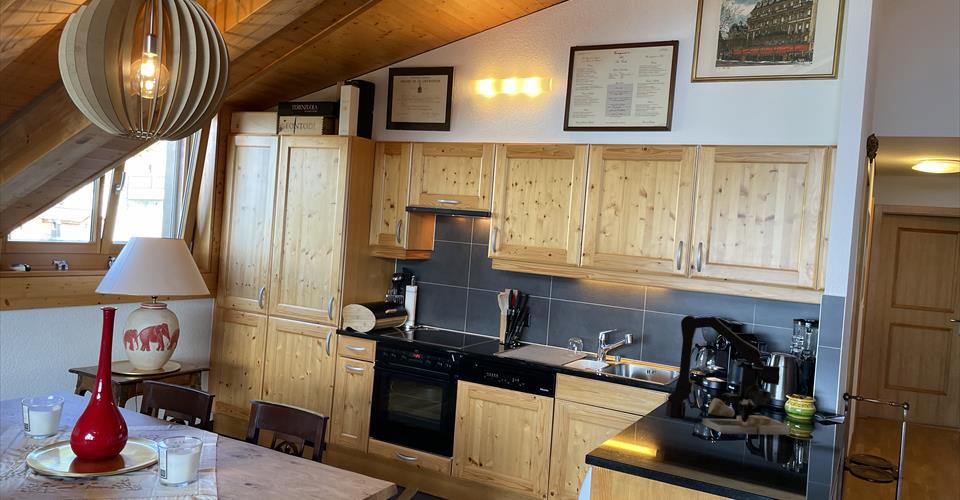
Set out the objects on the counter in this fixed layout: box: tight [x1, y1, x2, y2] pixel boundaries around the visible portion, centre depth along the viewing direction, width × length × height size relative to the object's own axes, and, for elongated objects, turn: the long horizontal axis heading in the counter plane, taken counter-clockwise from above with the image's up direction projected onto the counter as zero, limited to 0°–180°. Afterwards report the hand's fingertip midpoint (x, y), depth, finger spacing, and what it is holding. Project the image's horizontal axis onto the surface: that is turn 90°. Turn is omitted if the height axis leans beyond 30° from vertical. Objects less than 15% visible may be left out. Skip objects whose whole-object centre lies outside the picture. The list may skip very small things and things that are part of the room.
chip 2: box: [752, 415, 772, 426], centre depth 284 cm, size 4×4×4 cm
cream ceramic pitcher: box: [707, 397, 735, 418], centre depth 302 cm, size 8×10×10 cm
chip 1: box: [742, 414, 761, 431], centre depth 283 cm, size 4×4×4 cm
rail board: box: [700, 415, 792, 436], centre depth 282 cm, size 30×14×4 cm, turn 109°
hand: (744, 421), depth 281 cm, fingers closed
